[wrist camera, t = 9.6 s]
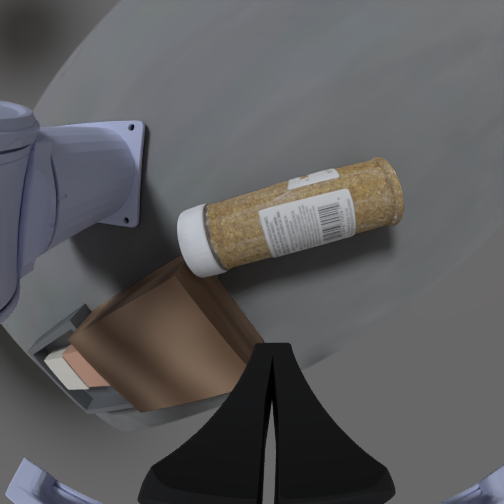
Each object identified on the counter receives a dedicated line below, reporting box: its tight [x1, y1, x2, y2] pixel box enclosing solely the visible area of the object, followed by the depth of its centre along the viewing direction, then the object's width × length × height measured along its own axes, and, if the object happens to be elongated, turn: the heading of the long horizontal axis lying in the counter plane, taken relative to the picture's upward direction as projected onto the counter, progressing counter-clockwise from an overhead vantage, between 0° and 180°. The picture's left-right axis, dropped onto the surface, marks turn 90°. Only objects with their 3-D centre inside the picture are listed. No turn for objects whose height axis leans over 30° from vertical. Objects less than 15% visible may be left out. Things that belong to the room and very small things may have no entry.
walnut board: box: [68, 255, 263, 412], centre depth 21 cm, size 14×10×5 cm
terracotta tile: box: [62, 344, 111, 387], centre depth 24 cm, size 5×5×2 cm
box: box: [28, 304, 134, 414], centre depth 25 cm, size 14×12×3 cm
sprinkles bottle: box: [177, 157, 404, 278], centre depth 16 cm, size 5×5×13 cm
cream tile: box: [44, 345, 90, 390], centre depth 25 cm, size 5×5×2 cm
